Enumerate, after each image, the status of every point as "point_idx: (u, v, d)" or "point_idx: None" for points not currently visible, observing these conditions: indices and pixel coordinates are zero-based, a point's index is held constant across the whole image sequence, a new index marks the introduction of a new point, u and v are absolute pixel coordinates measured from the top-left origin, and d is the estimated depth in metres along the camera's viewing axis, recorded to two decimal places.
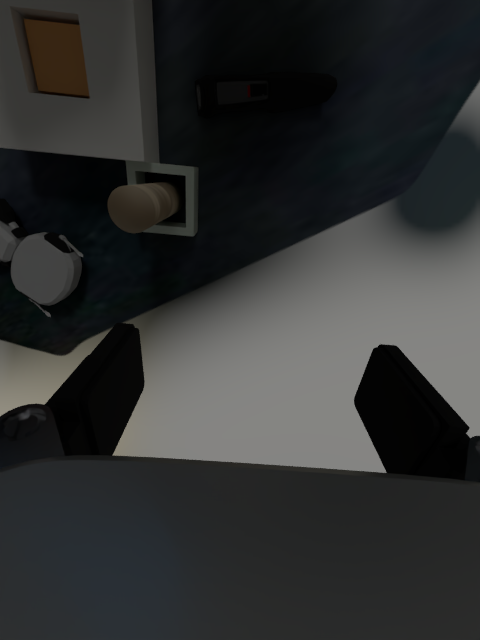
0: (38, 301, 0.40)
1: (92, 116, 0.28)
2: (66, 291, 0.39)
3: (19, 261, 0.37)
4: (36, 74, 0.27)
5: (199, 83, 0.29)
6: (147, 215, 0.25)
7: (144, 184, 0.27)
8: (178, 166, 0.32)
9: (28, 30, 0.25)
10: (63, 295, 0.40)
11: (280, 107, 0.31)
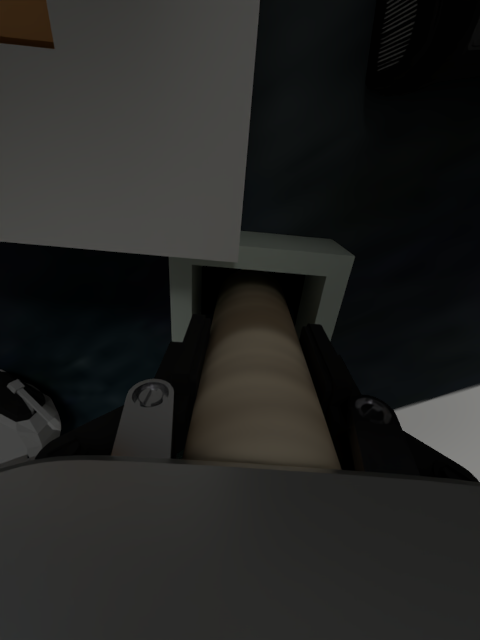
0: None
1: (67, 118, 0.07)
2: None
3: None
4: None
5: None
6: None
7: (273, 392, 0.07)
8: (312, 255, 0.12)
9: None
10: None
11: None
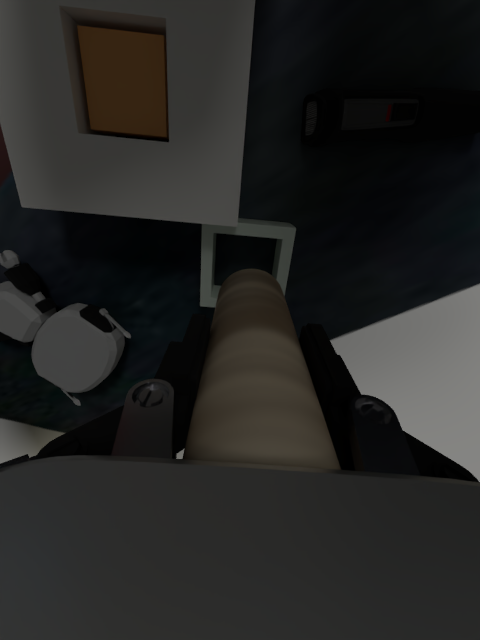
0: (66, 389, 0.30)
1: (169, 166, 0.19)
2: (104, 377, 0.30)
3: (44, 343, 0.28)
4: (89, 105, 0.18)
5: (318, 99, 0.20)
6: None
7: (273, 392, 0.07)
8: (274, 227, 0.23)
9: (83, 42, 0.17)
10: (99, 381, 0.30)
11: (423, 136, 0.22)
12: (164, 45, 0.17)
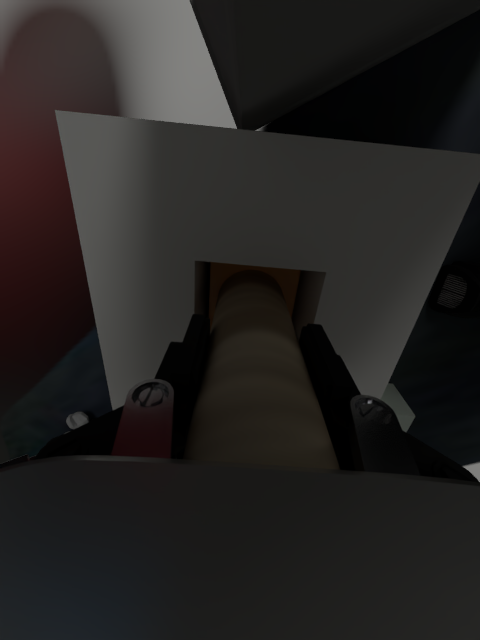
0: None
1: None
2: None
3: None
4: (211, 313, 0.17)
5: (471, 281, 0.17)
6: None
7: (273, 394, 0.07)
8: None
9: (214, 265, 0.15)
10: None
11: None
12: None
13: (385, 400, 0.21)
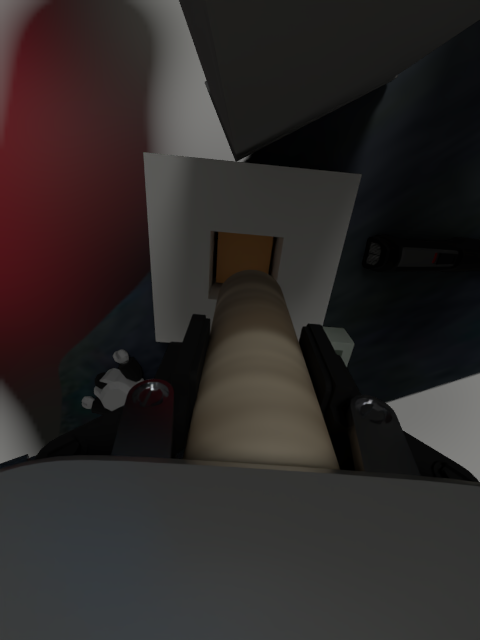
0: None
1: None
2: None
3: None
4: (217, 270, 0.27)
5: (382, 245, 0.26)
6: None
7: (272, 394, 0.07)
8: (337, 343, 0.30)
9: (220, 238, 0.26)
10: None
11: (458, 270, 0.28)
12: None
13: (336, 336, 0.31)
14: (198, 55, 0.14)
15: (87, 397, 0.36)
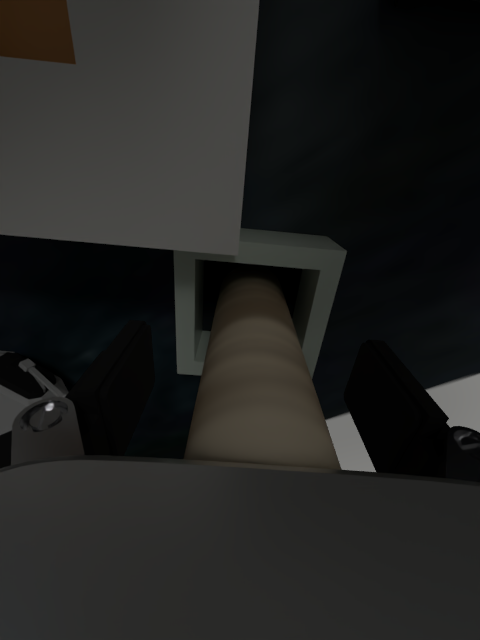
0: None
1: (85, 125, 0.08)
2: None
3: None
4: None
5: None
6: None
7: (270, 369, 0.08)
8: (307, 250, 0.12)
9: None
10: None
11: None
12: None
13: (306, 241, 0.14)
14: None
15: None
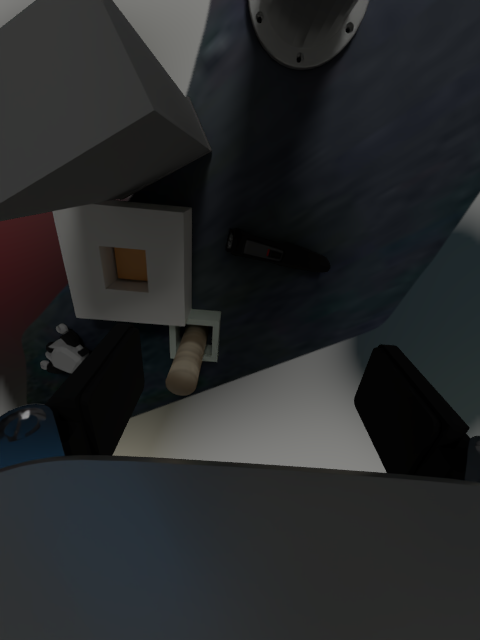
0: None
1: (149, 301, 0.39)
2: None
3: None
4: (117, 270, 0.40)
5: (233, 235, 0.38)
6: (192, 386, 0.36)
7: (187, 354, 0.38)
8: (207, 320, 0.43)
9: (115, 248, 0.39)
10: None
11: (287, 266, 0.41)
12: None
13: (210, 316, 0.44)
14: None
15: (44, 361, 0.49)
